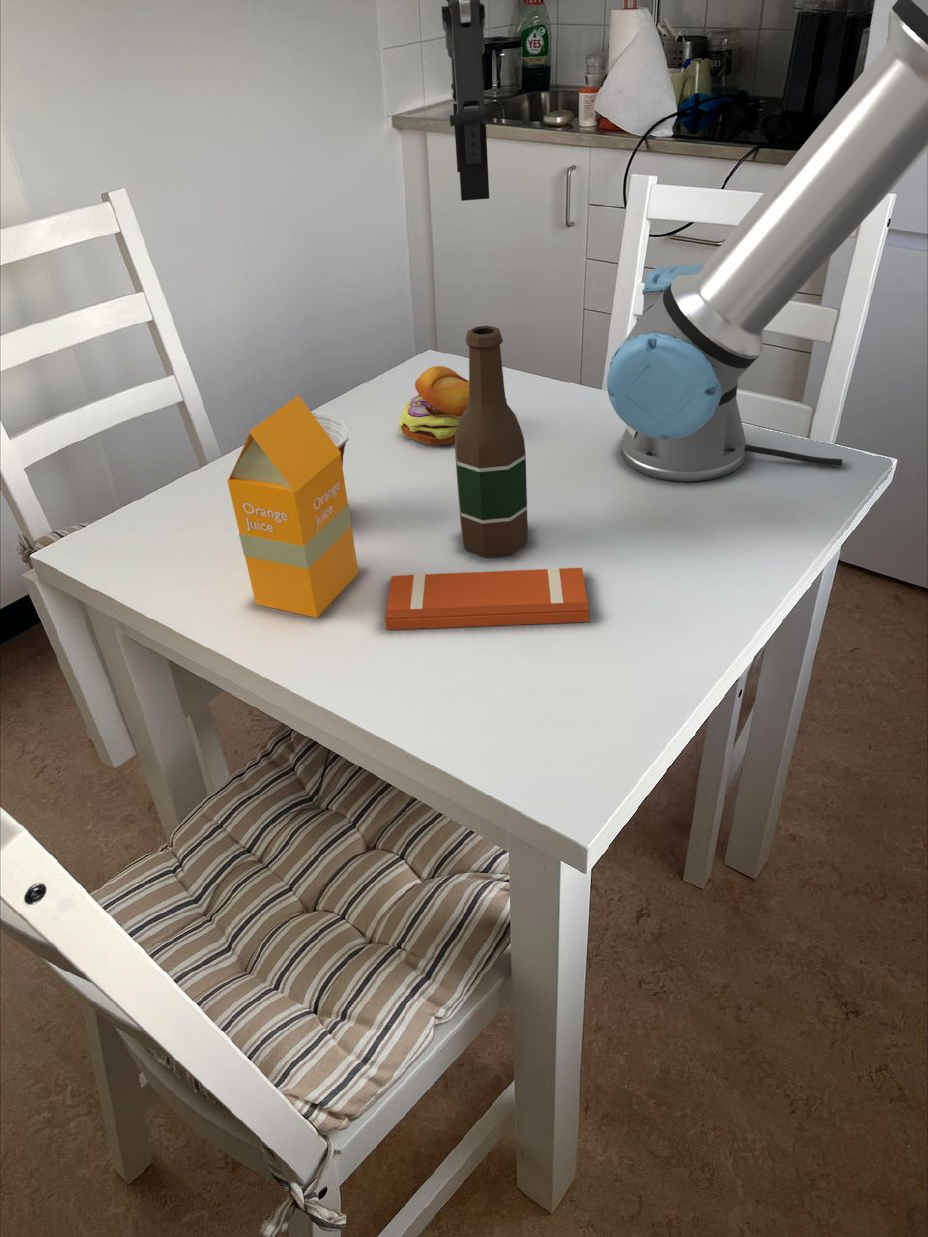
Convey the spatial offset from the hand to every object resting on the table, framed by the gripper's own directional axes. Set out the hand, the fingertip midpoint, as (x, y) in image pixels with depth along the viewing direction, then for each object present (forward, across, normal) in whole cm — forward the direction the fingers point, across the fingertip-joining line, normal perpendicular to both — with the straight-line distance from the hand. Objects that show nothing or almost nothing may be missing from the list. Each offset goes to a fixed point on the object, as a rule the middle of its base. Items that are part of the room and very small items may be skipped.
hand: (472, 184), depth 97 cm
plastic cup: (+35, +7, -21) cm, 41 cm away
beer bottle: (+35, +14, 0) cm, 37 cm away
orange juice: (+35, +21, -20) cm, 45 cm away
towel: (+34, +26, -2) cm, 43 cm away
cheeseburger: (+35, -16, -6) cm, 38 cm away
